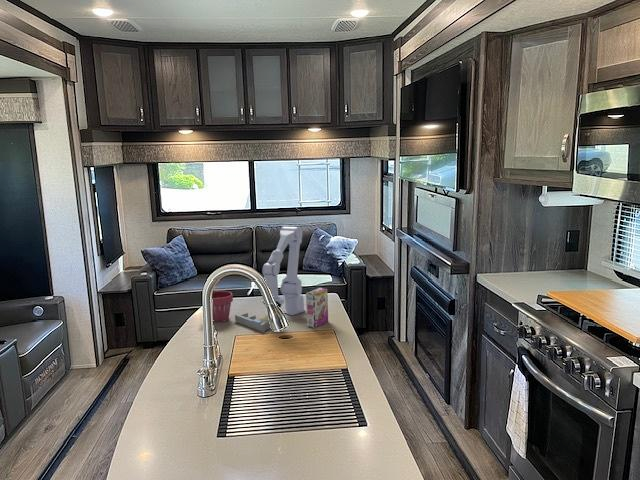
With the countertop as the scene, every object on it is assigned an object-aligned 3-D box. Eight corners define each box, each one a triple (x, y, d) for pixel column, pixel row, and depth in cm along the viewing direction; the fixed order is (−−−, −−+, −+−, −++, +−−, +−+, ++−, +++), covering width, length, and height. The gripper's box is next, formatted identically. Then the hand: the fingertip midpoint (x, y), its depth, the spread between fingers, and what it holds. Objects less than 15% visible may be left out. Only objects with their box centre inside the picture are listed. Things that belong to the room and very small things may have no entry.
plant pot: (238, 314, 242) (236, 290, 240) (227, 324, 229) (225, 298, 227) (212, 314, 246) (210, 290, 243) (200, 323, 232) (197, 298, 230)
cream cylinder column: (279, 315, 231) (278, 308, 230) (284, 317, 229) (283, 310, 228) (257, 324, 223) (257, 317, 222) (262, 327, 220) (261, 320, 219)
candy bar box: (315, 328, 218) (313, 294, 215) (306, 326, 221) (305, 292, 218) (329, 321, 227) (327, 288, 224) (320, 319, 230) (319, 287, 227)
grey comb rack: (245, 318, 236) (244, 310, 235) (273, 328, 220) (272, 320, 220) (235, 321, 232) (234, 313, 231) (262, 332, 216) (262, 323, 215)
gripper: (255, 287, 226) (257, 314, 229) (274, 292, 216) (276, 321, 218) (267, 284, 231) (269, 311, 233) (286, 289, 221) (288, 317, 223)
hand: (273, 315), depth 226 cm, fingers closed on cream cylinder column, 4 cm apart
